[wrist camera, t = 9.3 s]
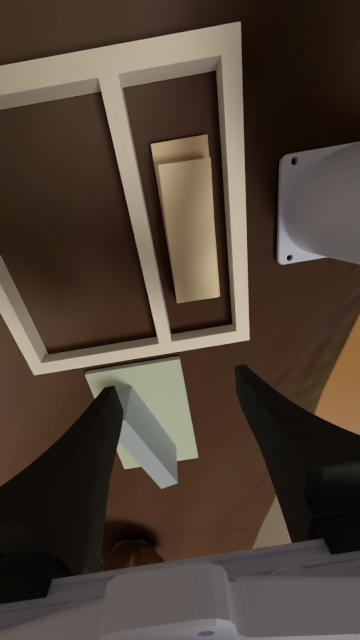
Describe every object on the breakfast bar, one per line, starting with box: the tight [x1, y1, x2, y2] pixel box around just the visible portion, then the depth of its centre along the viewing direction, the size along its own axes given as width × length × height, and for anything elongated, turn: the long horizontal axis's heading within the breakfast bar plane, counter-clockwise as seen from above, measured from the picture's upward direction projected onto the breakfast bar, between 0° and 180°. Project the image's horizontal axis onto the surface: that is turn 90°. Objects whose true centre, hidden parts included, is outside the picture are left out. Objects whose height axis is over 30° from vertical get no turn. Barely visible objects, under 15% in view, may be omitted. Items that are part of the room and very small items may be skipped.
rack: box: [0, 21, 249, 375], centre depth 18 cm, size 21×21×2 cm
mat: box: [85, 356, 198, 469], centre depth 26 cm, size 10×16×1 cm, turn 9°
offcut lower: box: [151, 134, 220, 303], centre depth 18 cm, size 4×12×1 cm, turn 9°
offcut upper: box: [158, 158, 218, 303], centre depth 18 cm, size 4×10×1 cm, turn 7°
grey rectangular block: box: [117, 386, 178, 489], centre depth 24 cm, size 2×11×4 cm, turn 25°
